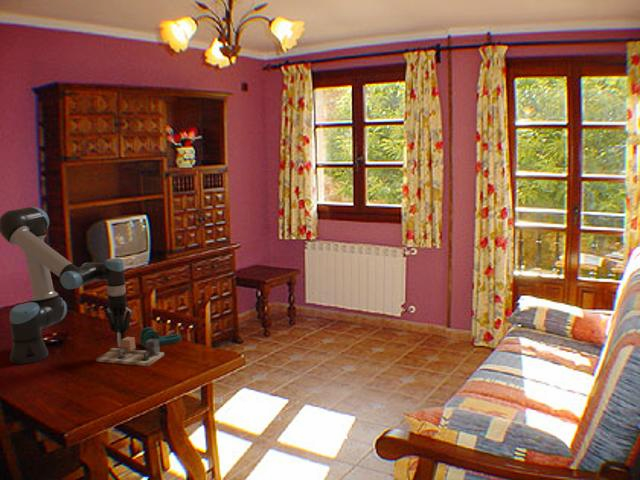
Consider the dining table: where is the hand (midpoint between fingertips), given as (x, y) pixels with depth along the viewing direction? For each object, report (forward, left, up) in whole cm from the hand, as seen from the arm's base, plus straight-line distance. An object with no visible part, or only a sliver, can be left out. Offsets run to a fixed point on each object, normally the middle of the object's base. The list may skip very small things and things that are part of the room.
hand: (121, 345), depth 264 cm
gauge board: (+7, -3, -4) cm, 8 cm away
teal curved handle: (+10, +17, -4) cm, 21 cm away
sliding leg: (+4, -3, -2) cm, 5 cm away
